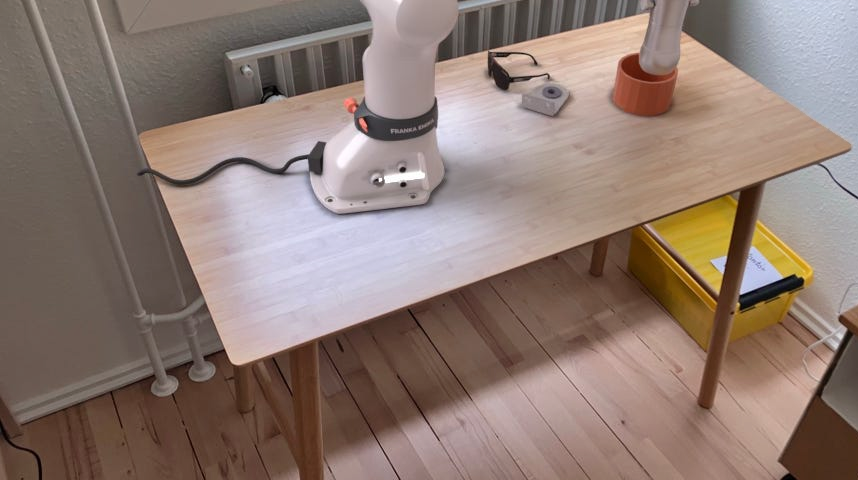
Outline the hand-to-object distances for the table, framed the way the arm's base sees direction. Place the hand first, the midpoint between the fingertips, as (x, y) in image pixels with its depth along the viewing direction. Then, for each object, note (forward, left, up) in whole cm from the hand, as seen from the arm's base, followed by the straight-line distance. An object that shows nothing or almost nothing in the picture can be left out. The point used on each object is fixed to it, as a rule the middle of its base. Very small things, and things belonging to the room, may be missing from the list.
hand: (670, 7), depth 131 cm
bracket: (-9, +20, -27) cm, 35 cm away
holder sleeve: (+9, +14, -27) cm, 31 cm away
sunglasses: (-10, +30, -27) cm, 42 cm away
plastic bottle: (0, 0, -12) cm, 12 cm away
